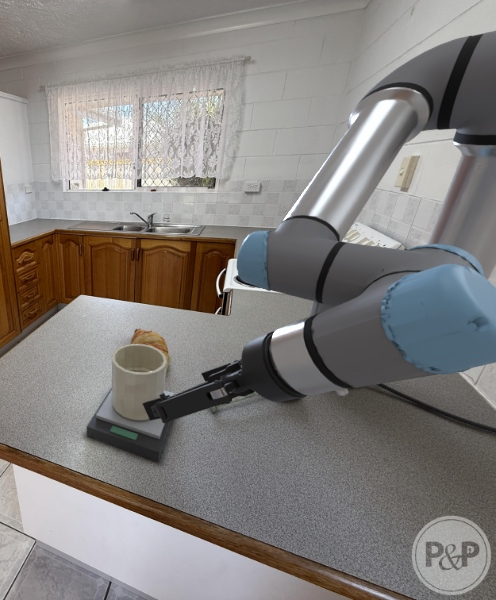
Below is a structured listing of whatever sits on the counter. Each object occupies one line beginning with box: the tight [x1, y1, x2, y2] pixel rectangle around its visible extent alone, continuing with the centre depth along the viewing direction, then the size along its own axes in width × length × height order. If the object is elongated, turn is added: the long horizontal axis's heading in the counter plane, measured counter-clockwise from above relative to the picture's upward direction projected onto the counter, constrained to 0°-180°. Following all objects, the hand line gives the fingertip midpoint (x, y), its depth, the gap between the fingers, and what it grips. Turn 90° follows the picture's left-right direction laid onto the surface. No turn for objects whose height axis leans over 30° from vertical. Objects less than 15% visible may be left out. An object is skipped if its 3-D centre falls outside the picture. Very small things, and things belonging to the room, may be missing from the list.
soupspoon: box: [210, 392, 260, 413], centre depth 68 cm, size 22×3×7 cm
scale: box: [86, 387, 176, 463], centre depth 63 cm, size 14×16×3 cm
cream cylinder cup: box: [111, 343, 167, 420], centre depth 61 cm, size 10×10×11 cm
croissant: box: [130, 328, 171, 373], centre depth 83 cm, size 21×10×8 cm, turn 11°
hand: (178, 394), depth 52 cm, fingers open, 13 cm apart
